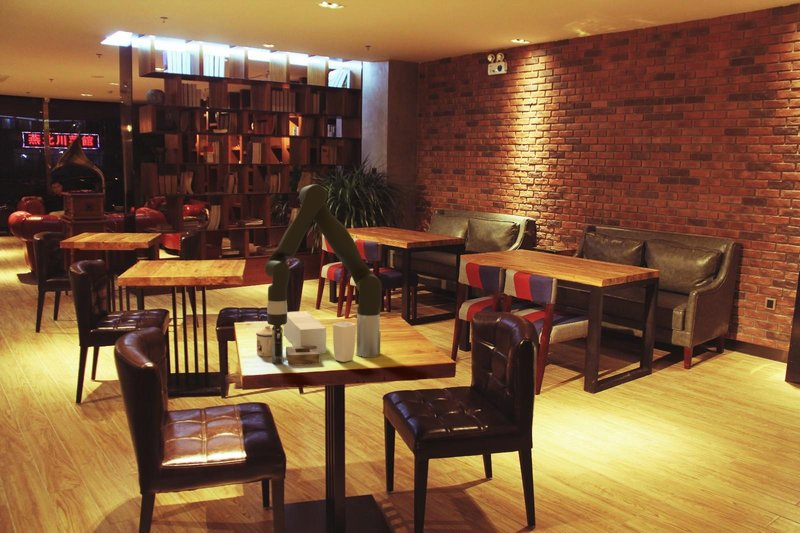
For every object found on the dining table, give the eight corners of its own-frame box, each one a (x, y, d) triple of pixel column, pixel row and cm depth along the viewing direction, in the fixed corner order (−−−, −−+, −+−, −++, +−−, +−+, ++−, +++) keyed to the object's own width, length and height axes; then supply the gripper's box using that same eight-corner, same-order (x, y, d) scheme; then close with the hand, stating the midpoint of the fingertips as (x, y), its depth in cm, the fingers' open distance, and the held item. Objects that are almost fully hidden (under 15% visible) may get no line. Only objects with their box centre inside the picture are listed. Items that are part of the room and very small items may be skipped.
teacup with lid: (254, 351, 286) (254, 323, 284) (277, 349, 289) (277, 322, 287) (258, 359, 275) (258, 330, 273) (282, 358, 278) (282, 329, 276)
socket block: (315, 355, 283) (315, 345, 283) (319, 363, 272) (319, 353, 271) (285, 356, 280) (285, 346, 280) (288, 365, 269) (288, 355, 268)
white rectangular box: (325, 353, 287) (326, 327, 285) (300, 355, 283) (300, 329, 281) (306, 334, 316) (306, 310, 315) (283, 335, 312) (283, 312, 311)
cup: (330, 360, 277) (331, 323, 275) (345, 356, 282) (345, 320, 280) (342, 364, 272) (343, 327, 270) (356, 360, 277) (357, 324, 275)
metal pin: (282, 360, 274) (282, 331, 272) (283, 363, 270) (283, 333, 268) (271, 361, 273) (271, 331, 271) (272, 364, 269) (272, 334, 267)
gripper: (288, 315, 263) (288, 359, 265) (285, 307, 276) (285, 349, 279) (268, 315, 261) (268, 360, 263) (266, 307, 274) (266, 350, 277)
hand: (277, 354), depth 271 cm, fingers closed on metal pin, 4 cm apart
